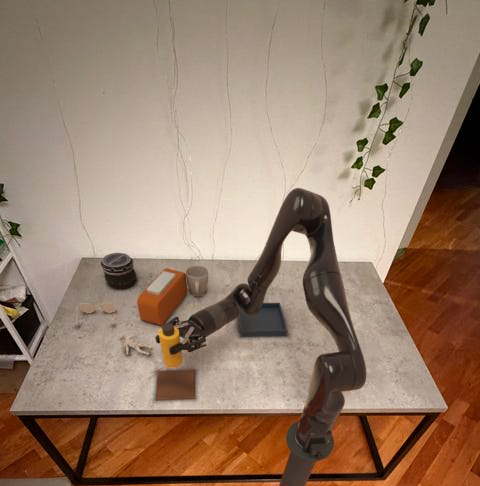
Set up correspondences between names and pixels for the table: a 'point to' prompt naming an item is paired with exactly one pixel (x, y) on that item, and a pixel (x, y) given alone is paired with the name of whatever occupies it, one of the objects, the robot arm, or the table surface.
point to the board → (175, 385)
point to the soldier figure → (133, 344)
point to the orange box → (162, 296)
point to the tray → (263, 322)
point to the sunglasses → (105, 307)
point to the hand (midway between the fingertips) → (163, 346)
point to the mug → (197, 280)
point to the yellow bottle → (170, 345)
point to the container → (119, 270)
